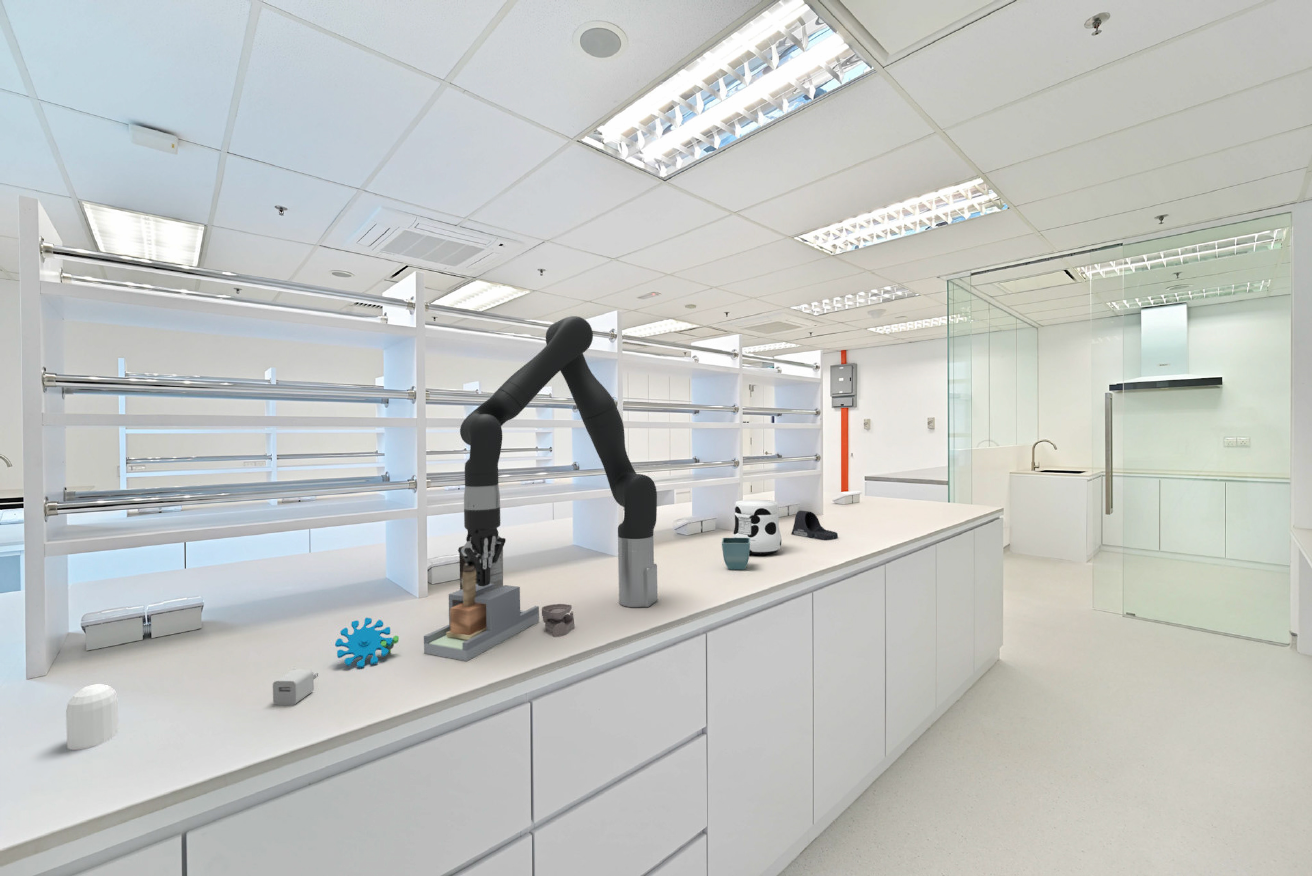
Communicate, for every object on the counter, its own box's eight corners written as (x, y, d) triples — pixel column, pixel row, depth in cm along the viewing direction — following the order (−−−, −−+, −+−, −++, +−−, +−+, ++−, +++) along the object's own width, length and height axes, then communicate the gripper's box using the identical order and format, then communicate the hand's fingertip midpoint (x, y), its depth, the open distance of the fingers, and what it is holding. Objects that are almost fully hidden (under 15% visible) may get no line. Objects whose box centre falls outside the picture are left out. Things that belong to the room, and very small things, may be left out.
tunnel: (539, 621, 130) (538, 578, 130) (466, 661, 108) (465, 610, 107) (501, 615, 134) (500, 574, 134) (424, 653, 112) (423, 603, 112)
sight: (826, 541, 217) (826, 516, 217) (790, 534, 232) (790, 511, 231) (841, 538, 222) (840, 513, 222) (804, 532, 237) (804, 509, 237)
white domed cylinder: (59, 745, 80) (57, 691, 80) (106, 727, 85) (104, 675, 85) (79, 752, 78) (77, 696, 78) (126, 733, 83) (125, 680, 83)
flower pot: (721, 571, 173) (721, 542, 173) (723, 564, 182) (722, 537, 182) (750, 572, 172) (750, 543, 171) (750, 565, 180) (749, 537, 180)
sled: (493, 628, 118) (492, 563, 118) (470, 640, 112) (469, 571, 112) (469, 625, 121) (468, 561, 121) (446, 636, 114) (444, 568, 114)
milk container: (778, 547, 207) (777, 499, 207) (784, 557, 190) (784, 505, 190) (731, 546, 209) (731, 499, 208) (733, 557, 191) (733, 505, 191)
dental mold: (556, 622, 129) (555, 600, 129) (580, 626, 126) (580, 604, 126) (534, 633, 122) (533, 611, 122) (560, 638, 119) (559, 615, 119)
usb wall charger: (273, 704, 92) (272, 680, 91) (301, 685, 98) (301, 663, 98) (296, 704, 91) (295, 680, 91) (323, 685, 98) (322, 663, 98)
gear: (330, 665, 103) (340, 616, 109) (330, 679, 106) (340, 630, 113) (395, 663, 107) (401, 615, 114) (393, 676, 110) (399, 629, 117)
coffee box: (459, 611, 138) (457, 546, 138) (478, 603, 144) (477, 542, 144) (486, 616, 134) (484, 550, 134) (504, 608, 140) (503, 544, 139)
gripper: (474, 511, 113) (476, 595, 113) (515, 502, 125) (516, 579, 125) (446, 509, 116) (447, 591, 116) (488, 501, 128) (490, 576, 128)
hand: (483, 585), depth 121 cm, fingers closed
